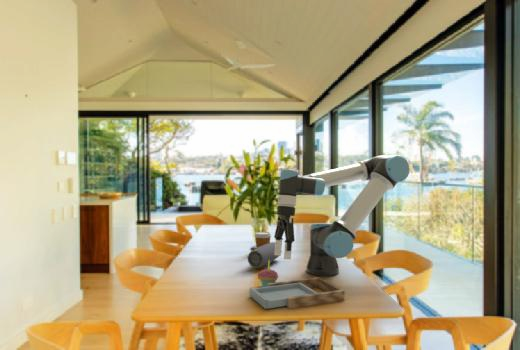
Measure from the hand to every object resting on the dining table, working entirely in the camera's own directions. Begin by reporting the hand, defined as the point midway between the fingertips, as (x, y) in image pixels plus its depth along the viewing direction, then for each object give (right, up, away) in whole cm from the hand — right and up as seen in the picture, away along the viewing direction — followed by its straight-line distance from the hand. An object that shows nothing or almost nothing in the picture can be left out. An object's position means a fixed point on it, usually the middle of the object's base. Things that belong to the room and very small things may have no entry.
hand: (282, 257), depth 160 cm
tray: (0, -12, -15) cm, 20 cm away
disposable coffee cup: (-8, -11, +58) cm, 60 cm away
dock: (+8, -12, -12) cm, 19 cm away
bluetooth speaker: (-7, -11, +35) cm, 37 cm away
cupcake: (-6, -12, 0) cm, 14 cm away
